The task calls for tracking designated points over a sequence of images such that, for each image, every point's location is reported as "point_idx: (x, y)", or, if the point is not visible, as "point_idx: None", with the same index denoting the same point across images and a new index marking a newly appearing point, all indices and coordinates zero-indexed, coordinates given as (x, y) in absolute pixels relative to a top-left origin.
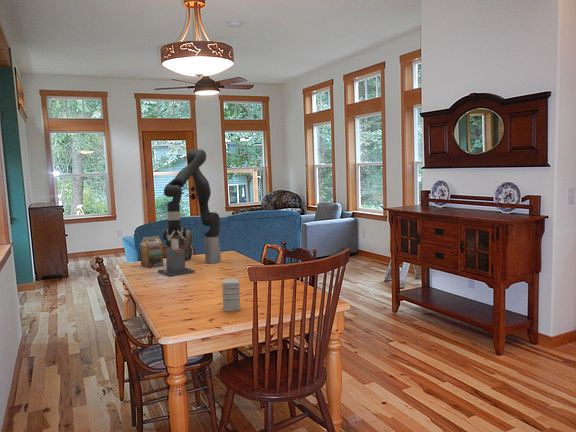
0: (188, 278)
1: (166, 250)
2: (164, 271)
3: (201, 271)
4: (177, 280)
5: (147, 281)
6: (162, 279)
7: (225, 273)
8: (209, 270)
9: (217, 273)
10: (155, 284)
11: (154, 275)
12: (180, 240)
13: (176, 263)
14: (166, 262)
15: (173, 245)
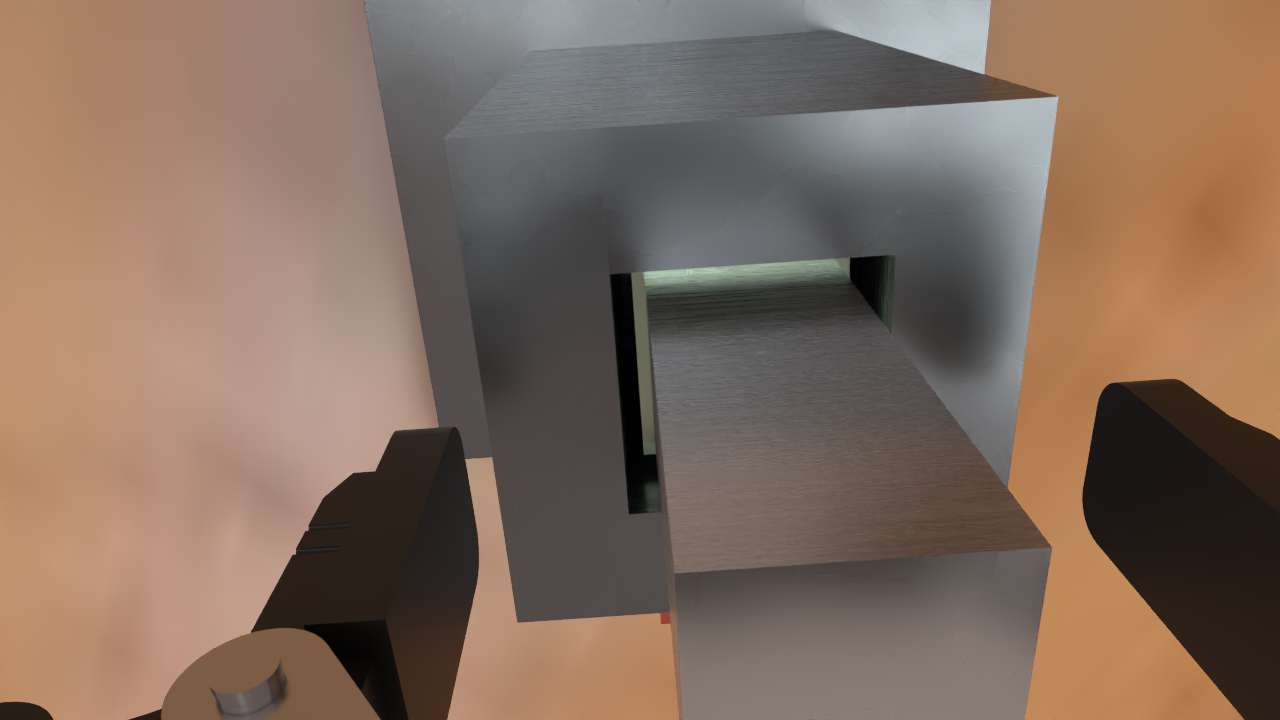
0: (641, 676)
1: (458, 181)
2: (440, 147)
3: (1076, 389)
4: (462, 688)
5: (32, 495)
6: (286, 514)
7: (1198, 715)
8: (1220, 406)
9: (1130, 655)
10: (121, 711)
11: (232, 126)
12: (1246, 556)
13: None
14: (509, 72)
15: (666, 566)
